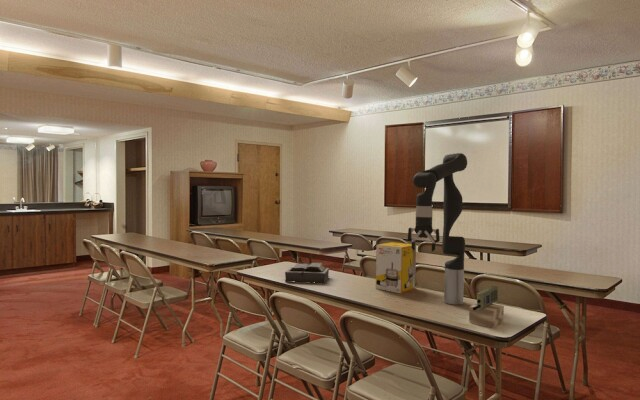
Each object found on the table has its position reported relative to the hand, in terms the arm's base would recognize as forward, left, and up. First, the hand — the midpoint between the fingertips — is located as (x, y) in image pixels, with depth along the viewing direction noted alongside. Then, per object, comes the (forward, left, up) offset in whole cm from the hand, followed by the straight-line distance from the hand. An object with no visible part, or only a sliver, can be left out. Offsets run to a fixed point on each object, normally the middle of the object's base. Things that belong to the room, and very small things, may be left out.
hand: (423, 250), depth 208 cm
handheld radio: (+6, +28, -22) cm, 36 cm away
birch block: (+6, +28, -28) cm, 40 cm away
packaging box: (-40, -21, -28) cm, 54 cm away
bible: (-40, -76, -29) cm, 91 cm away
